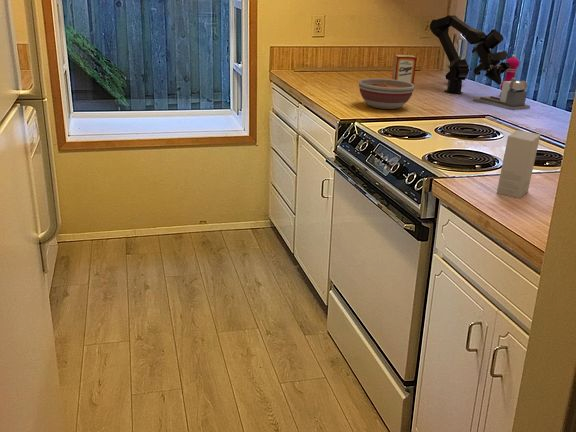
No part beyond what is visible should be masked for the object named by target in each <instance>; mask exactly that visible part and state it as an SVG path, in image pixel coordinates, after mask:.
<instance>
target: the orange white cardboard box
mask: <svg viewBox="0 0 576 432" xmlns="http://www.w3.org/2000/svg"><path fill="white" fill-rule="evenodd" d="M417 59H418V58H417V56H415V55H411V54H409V55H408V54H394V56H393V66H392V74H391V79H392V80H400V81H405V82H409V83H412V84H413V85H415V84H414V83H415V76H416V69H417V67H416V66H417Z"/></svg>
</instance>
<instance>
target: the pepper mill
mask: <svg viewBox="0 0 576 432" xmlns="http://www.w3.org/2000/svg"><path fill="white" fill-rule="evenodd" d="M516 57H517V55H516V54H512V55H511V57H510V58H507V59H506V61H505V62H509V63H510V65H511V67H510V68H508V69H507V70H506V71H505V72H506V73H505V77H504V80H503V81H501V84H500V85H499V87H500V88H499V89H500V91H502V86H503V82H504V81H511V80H512V78H516V77H515V75H516V74H517V72H518V68H519V66H520V61H519V59H518V58H516ZM500 97H501V92H500V93H499V98H500Z"/></svg>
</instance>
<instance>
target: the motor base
mask: <svg viewBox="0 0 576 432" xmlns="http://www.w3.org/2000/svg"><path fill="white" fill-rule="evenodd" d="M509 88H510V90H511V91H508V92H507V98H506V103H504V102H500V97H498V96H497V97H496V96H492V95H490V96H489V95H488V96H480V97H473V99H472V101H475V102H478V103H482V104H486V105H490V106H495V107H498V108H503V109H506V110H509V111H510V110H511V111H515V109H518V110H526V109H525V108H527V109H531V105H530V104H526V100H527V95H528V91H526V90H527V88H528V82H527V81H525V80H516V81H513V82H511V83H510V86H509Z"/></svg>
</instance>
